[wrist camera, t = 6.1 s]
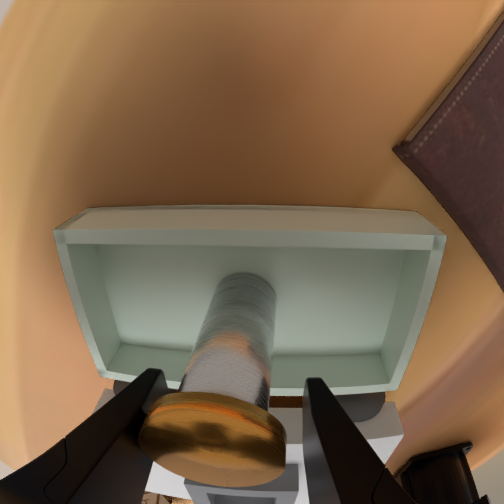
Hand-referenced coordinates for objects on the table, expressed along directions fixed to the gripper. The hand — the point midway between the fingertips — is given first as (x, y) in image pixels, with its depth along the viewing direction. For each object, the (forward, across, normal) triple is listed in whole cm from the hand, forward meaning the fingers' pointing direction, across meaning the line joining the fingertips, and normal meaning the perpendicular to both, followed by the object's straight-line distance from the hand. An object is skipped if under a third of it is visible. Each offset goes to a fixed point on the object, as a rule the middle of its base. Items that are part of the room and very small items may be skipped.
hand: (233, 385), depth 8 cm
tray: (+5, 0, 0) cm, 5 cm away
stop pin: (+4, 0, 0) cm, 4 cm away
